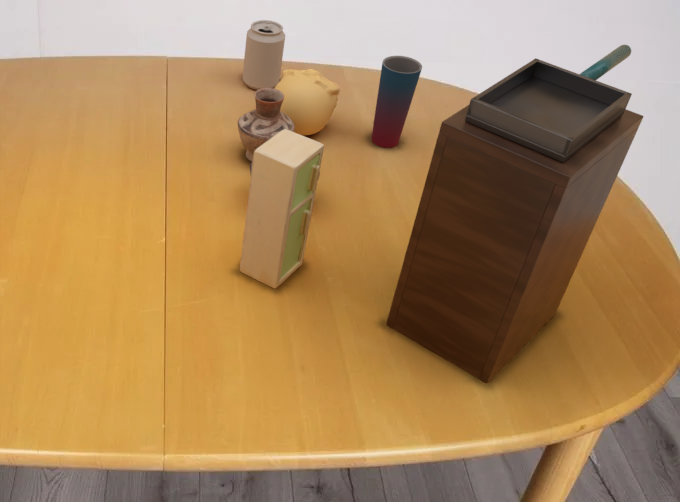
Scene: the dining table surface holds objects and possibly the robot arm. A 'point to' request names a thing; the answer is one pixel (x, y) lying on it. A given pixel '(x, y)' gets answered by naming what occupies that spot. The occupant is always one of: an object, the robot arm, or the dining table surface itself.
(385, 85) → the cup
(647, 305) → the dining table surface
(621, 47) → the grey square pan
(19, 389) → the dining table surface
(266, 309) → the dining table surface
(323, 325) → the dining table surface
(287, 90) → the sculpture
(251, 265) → the toy refrigerator
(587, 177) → the wooden filing cabinet
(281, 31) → the can
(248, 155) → the pottery
